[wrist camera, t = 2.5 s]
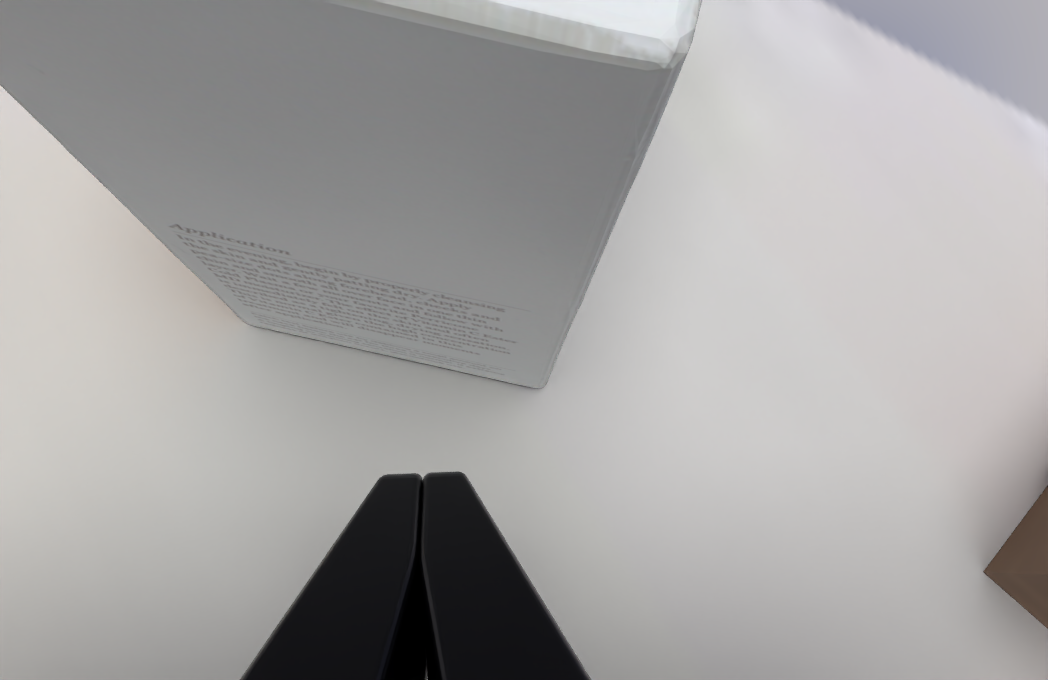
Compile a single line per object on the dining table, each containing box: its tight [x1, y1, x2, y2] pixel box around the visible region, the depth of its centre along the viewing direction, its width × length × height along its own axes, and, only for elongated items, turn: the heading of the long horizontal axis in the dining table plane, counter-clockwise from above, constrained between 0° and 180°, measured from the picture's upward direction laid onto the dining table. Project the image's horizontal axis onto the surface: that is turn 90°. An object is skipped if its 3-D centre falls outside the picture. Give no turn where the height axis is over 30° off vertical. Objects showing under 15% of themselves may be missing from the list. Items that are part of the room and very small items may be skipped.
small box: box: [0, 0, 702, 388], centre depth 13 cm, size 8×6×13 cm
